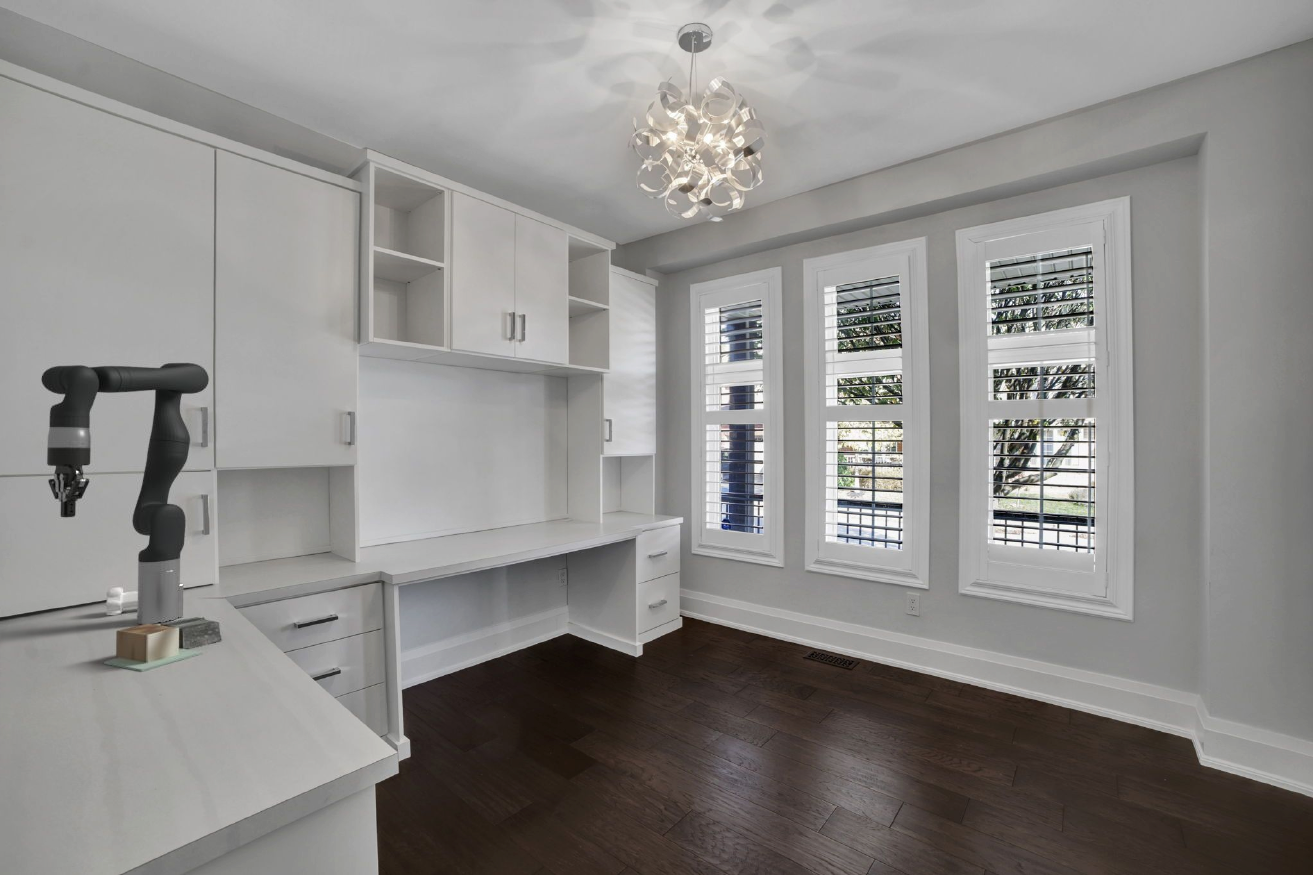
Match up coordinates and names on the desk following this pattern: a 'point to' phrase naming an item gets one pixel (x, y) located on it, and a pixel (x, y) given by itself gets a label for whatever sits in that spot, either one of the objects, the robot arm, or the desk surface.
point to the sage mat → (145, 666)
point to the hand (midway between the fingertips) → (67, 516)
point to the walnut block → (147, 642)
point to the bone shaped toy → (120, 600)
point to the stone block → (196, 632)
